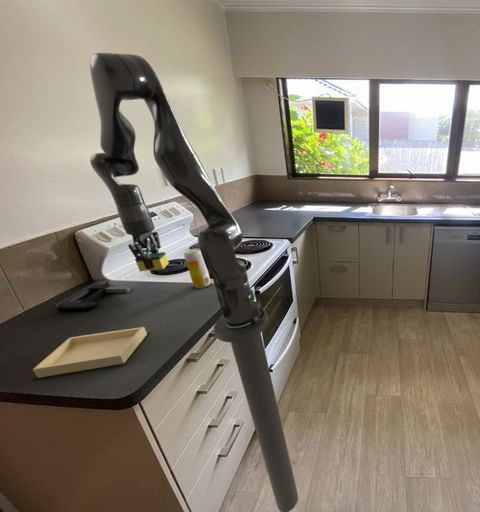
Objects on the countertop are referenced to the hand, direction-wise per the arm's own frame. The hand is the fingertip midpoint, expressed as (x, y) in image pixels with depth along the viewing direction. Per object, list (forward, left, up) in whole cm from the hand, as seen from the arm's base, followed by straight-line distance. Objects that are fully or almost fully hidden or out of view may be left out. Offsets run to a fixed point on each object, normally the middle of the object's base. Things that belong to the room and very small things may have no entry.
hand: (154, 265), depth 99 cm
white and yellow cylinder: (-9, -10, -15) cm, 20 cm away
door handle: (+26, -10, -15) cm, 32 cm away
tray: (+7, +26, -15) cm, 31 cm away
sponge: (0, 0, -1) cm, 1 cm away
